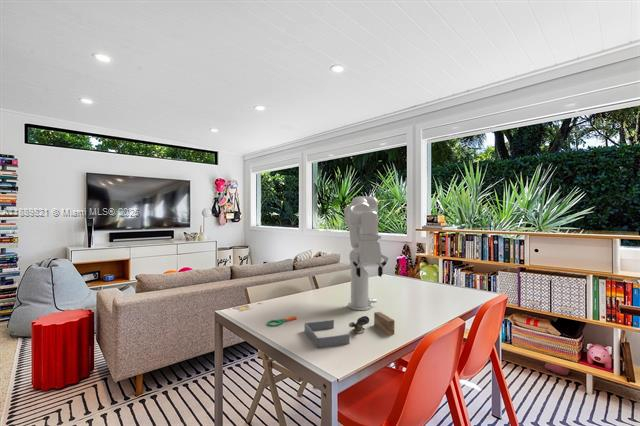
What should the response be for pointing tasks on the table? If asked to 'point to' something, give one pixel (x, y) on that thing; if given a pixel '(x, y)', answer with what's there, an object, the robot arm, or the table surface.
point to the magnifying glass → (280, 321)
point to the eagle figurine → (359, 324)
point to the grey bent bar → (325, 340)
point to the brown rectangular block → (384, 323)
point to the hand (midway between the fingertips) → (369, 276)
